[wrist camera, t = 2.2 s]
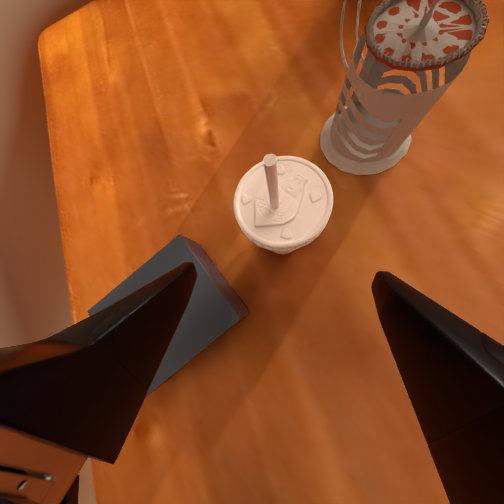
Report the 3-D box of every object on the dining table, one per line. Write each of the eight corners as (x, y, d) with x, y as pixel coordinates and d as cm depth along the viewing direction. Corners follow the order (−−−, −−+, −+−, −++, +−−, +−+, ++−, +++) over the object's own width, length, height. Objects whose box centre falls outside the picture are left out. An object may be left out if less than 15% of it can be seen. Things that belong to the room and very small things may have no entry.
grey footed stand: (249, 312, 20) (240, 318, 16) (165, 381, 20) (133, 407, 16) (199, 244, 23) (179, 234, 18) (124, 306, 23) (87, 311, 18)
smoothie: (243, 240, 22) (176, 163, 8) (281, 201, 22) (275, 62, 8) (284, 278, 20) (283, 260, 7) (324, 236, 20) (404, 134, 7)
